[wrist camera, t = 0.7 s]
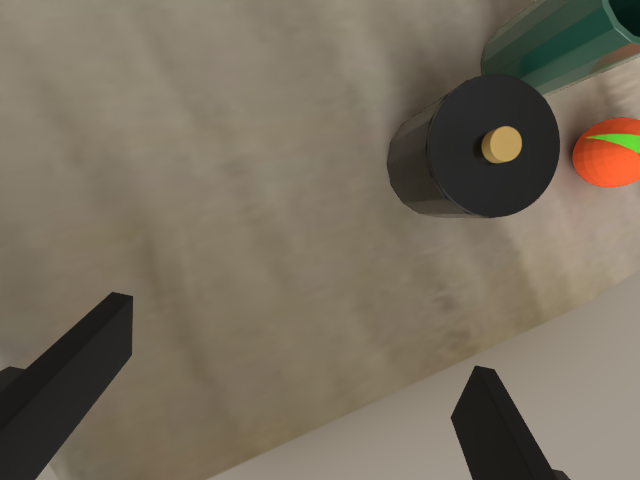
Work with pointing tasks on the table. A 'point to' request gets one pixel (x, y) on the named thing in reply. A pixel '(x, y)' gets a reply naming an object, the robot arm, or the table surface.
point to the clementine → (609, 153)
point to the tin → (564, 42)
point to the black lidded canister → (476, 151)
